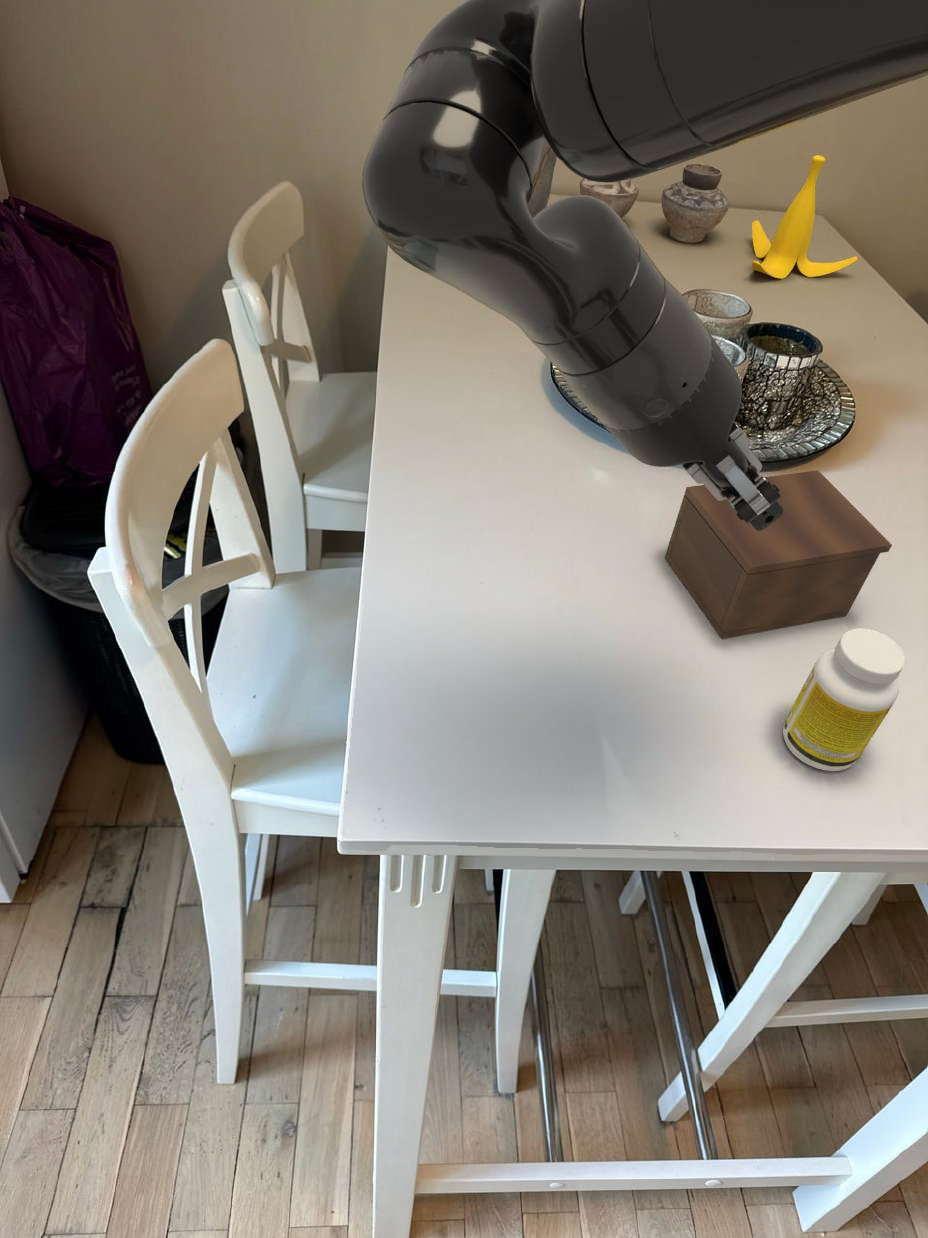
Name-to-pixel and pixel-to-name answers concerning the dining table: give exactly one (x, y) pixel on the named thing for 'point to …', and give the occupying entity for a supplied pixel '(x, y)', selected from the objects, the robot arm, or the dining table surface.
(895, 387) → the dining table surface
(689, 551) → the chest
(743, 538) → the lid
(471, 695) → the dining table surface
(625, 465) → the dining table surface
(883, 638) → the pill bottle
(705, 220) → the pottery
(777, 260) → the banana peel
